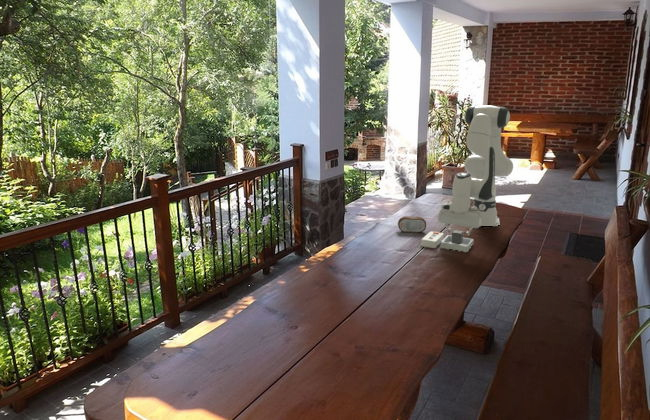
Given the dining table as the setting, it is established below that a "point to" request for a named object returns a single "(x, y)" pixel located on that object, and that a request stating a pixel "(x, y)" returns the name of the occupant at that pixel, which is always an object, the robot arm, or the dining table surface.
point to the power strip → (432, 239)
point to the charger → (457, 237)
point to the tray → (461, 247)
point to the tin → (412, 224)
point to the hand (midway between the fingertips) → (458, 233)
